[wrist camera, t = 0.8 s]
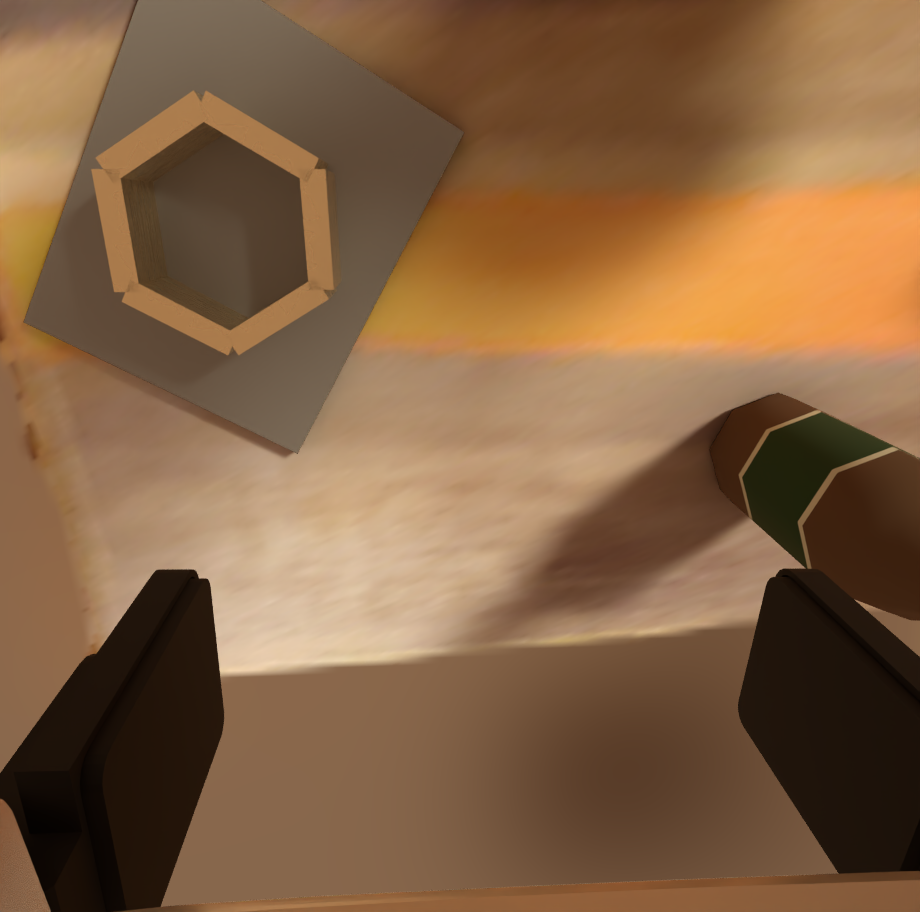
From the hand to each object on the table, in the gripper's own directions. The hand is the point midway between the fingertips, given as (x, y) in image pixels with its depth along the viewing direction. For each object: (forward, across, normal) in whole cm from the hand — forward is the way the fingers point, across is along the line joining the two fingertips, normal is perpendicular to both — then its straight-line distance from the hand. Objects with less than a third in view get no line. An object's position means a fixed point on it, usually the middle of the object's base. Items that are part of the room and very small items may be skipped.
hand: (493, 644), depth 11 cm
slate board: (+29, +10, -5) cm, 31 cm away
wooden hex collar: (+29, +10, -5) cm, 31 cm away
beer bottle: (+29, -22, +7) cm, 37 cm away
